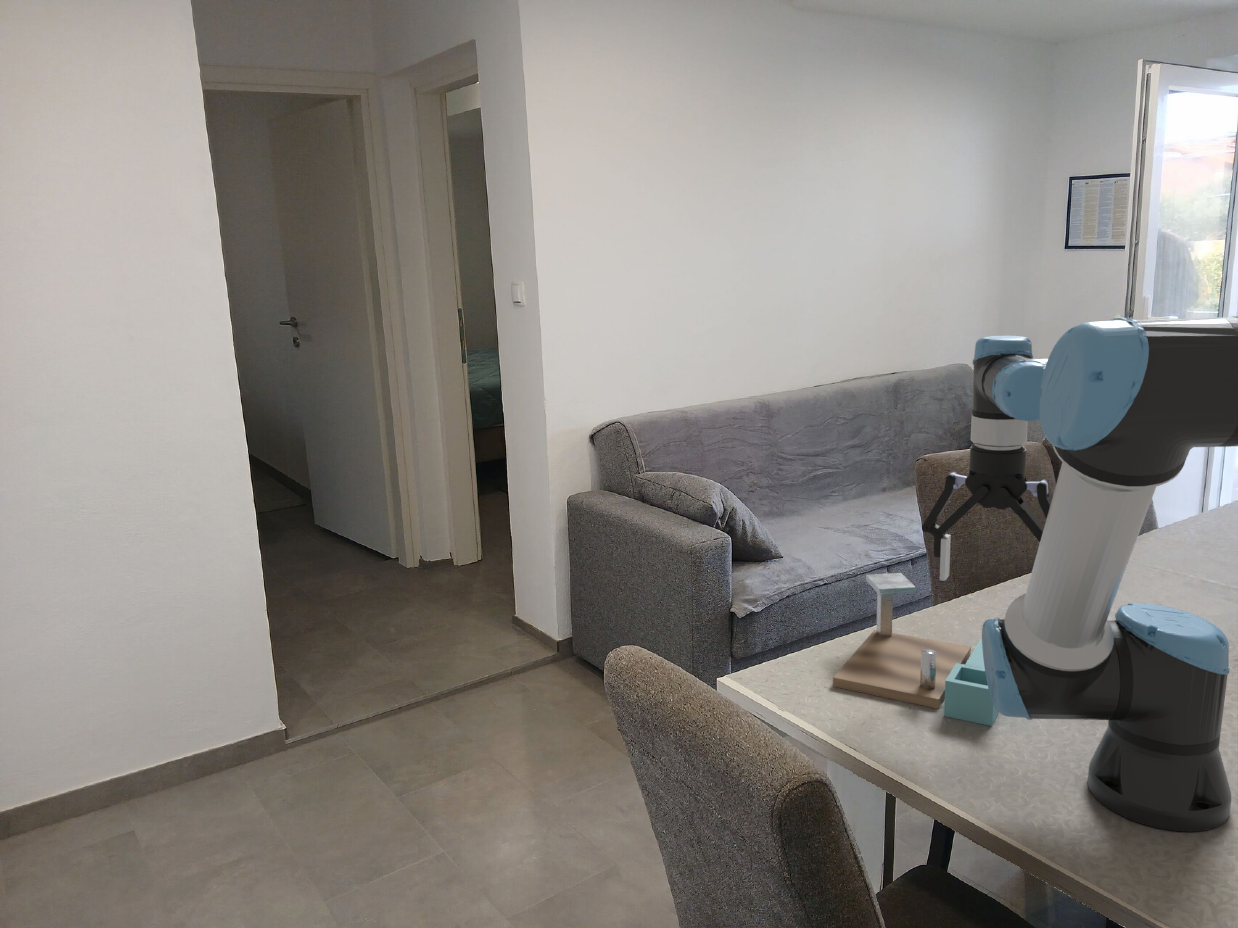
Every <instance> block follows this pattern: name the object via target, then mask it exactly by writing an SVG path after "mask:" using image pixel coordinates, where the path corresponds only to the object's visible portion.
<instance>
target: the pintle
mask: <svg viewBox="0 0 1238 928" xmlns="http://www.w3.org/2000/svg"><path fill="white" fill-rule="evenodd" d="M936 658H937V652H936V651H934V650H931V649H924V650H922V651H921V672H920V687H921V688H923V689H928V690H931V689H934V688H935V685H936Z"/></svg>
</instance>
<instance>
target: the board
mask: <svg viewBox="0 0 1238 928" xmlns="http://www.w3.org/2000/svg"><path fill="white" fill-rule="evenodd" d="M924 649H931V650H934V651H936V652H937V658H936V685H935V688H934V689H931V690H928V689H923V688H921V687H920V672H921V651H922V650H924ZM971 651H972V646H969V645H963V644H957V643H951V642H946V641H940V640H935V639H929V638H923V637H918V636H911V635H906V634H901V633H895V632H892V636H884V637H880V636H879V635H878V633H877V629H874V630H873V631H872V632H871V633H870V634H869V636H868V637H866V639H865V640H864V641H863V642H862V644H861V645H859V647H858V648H857V649H856V650H855V651H854V653H852V654H851V656H850V657H849V658H848V660H847V661H846V662H844V664H843V665H842V666H841V668H840V669H839V670H838V671H837V672H836V673H835V675H834V676H832V687H833V688H834V687H835V688H838V689H839V688H840V689H844V690H849V691H853V692H858V693H862V694H867V695H872V696H877V697H881V698H886V699H890V700H895V701H900V702H905V703H909V704H914V705H920V706H923V707H929V708H933V709H936V710H937V709H938V710H939V709H940V707H941V705H942V704H943V703H944V701H945V680H946V679H947V677H948V675H949V674H950V672H951V671H952V669H953V667H954V666H955V664H956V663H959V664H964V665H965V664H966V663H967V661H968V659H969V658H970V656H971V654H972V653H971Z"/></svg>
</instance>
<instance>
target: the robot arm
mask: <svg viewBox="0 0 1238 928" xmlns="http://www.w3.org/2000/svg"><path fill="white" fill-rule="evenodd" d="M972 365H973V374H972V375H973V378H972V379H973V380H972V402H971V403H972V404H971V405H972V406H971V407H972V408H971V419H970V420H971V422H970V423H971V424H970V438H969V439H970V441H971V442H972V443H973V444H972V445H971V446H970V447H969V467H968V468H969V471H968V475H967V476H966V475H961V474H959V473H958V472H956V471H951V472H950V473H949V474H947V476H946V478H945V483H944V488H943V490H942V492H941V494H940V495H939V497H938V498H937V500H936V502H935V504H934V506H933V508H932V509H931V511H930V512H929V514H928V516H927V517H926V519H925V521H924V523H923V524H922V526H921V530H922V532H923V533H929V534H930V535H932V536H933V539H934V540H933V556H934V558H940V561H939V581H942V582H943V581H944V582H945V581H947V579H948V578H949V576H950V568H951V567H950V566H951V565H950V564H951V562H950V561H951V539H952V538H951V537H952V535H951V534H949V533H947V532H948V531H949V530H950V529H951V528H952V527H953V526H954V525H955V524H956V523H957V522H958V521H959V520H960V519H961V518H963V516H964V515H965V514H966V513H968V512H969V511H970V510H971V509H972V508H973V507H974V506H975V505H976V504H978V505H979V506H981V507H982V508H984V509H985V508H986V509H991V508H992V509H993V508H995V509H998V510H1003V511H1005V510H1007V509H1011V510H1012V511H1013V512H1014V514H1015V515H1017V516H1018V517H1019V519H1020V520H1021V522H1023V523H1024V525H1025V526H1026V527H1027V528H1028V530H1029V531H1030V532H1031V533H1032V535H1033V536H1034V537H1035V539H1037V541H1038V542H1039V545H1038V549H1037V553H1036V555H1035V560H1034V563H1033V567H1032V570H1031V575H1030V578H1029V582H1028V584H1027V588H1026V592H1025V593H1023V594H1021V595H1019V596H1018V597H1016V598H1015V599H1014V600H1013V601H1012V602H1011V603H1010V604H1009V606H1008V607H1007V609H1006V612H1005V615H1004V618H1000V617H994V618H989V619H986V620H985V621H984V622H983V624H982V627H981V638H982V649H983V659H984V667H985V673H986V679H987V684H988V689H989V693H990V697H991V700H992V702H993V705H994V707H995V708H996V710H997V711H998V712H999V713H998V714H1000V715H1001V716H1005V717H1008V718H1009V717H1010V718H1022V719H1023V718H1025V719H1026V720H1027V721H1028V720H1029V721H1032V720H1033V719H1034V720H1081V721H1082V720H1084V721H1085V720H1086V721H1087V720H1088V721H1089V720H1091V721H1092V720H1093V721H1094V720H1095V721H1102V720H1103V721H1108V722H1107V723H1108V725H1107V728H1106V729H1105V732H1104V733H1103V736H1102V738H1101V740H1100V742H1099V744H1098V745H1097V747H1096V750H1095V751H1094V754H1093V755H1092V757H1091V760H1090V762H1089V764H1088V765H1089V766H1088V773H1087V774H1088V775H1087V786H1088V789H1089V791H1090V793H1091V794H1092V795H1093V797H1094V798H1095V799H1096V800H1097V801H1098V802H1099V803H1101V804H1102V805H1103V806H1104V807H1105V808H1107V809H1108V810H1111V811H1112V812H1114V813H1116V814H1117V815H1120V816H1121V817H1124V818H1125V819H1128V820H1130V821H1133V822H1136V823H1139V824H1142V825H1144V826H1145V825H1146V826H1148V827H1153V828H1157V829H1162V830H1166V831H1167V830H1168V831H1176V832H1202V831H1206V830H1207V831H1208V830H1211V829H1215V828H1217V827H1219V826H1221V825H1223V824H1224V823H1225V822H1226V821H1227V820H1228V819H1229V817H1230V813H1231V804H1232V791H1231V787H1230V783H1229V780H1228V777H1227V773H1226V770H1225V766H1224V762H1223V758H1222V755H1221V751H1220V741H1221V732H1222V723H1223V716H1224V707H1225V698H1226V690H1227V683H1228V675H1229V674H1230V669H1231V668H1230V667H1229V666H1230V662H1229V661H1230V658H1229V657H1230V656H1229V655H1230V654H1229V653H1230V652H1229V651H1230V646H1229V645H1230V644H1229V640H1228V638H1227V636H1226V634H1225V633H1224V632H1223V630H1221V629H1220V628H1219V627H1218V626H1217V625H1216V624H1214V623H1212V622H1210V621H1209V620H1207V619H1205V618H1203V617H1201V616H1199V615H1195V614H1194V613H1191V612H1188V611H1184V610H1181V609H1178V608H1174V607H1170V606H1165V605H1161V604H1155V603H1154V604H1153V603H1147V602H1130V603H1128V604H1123V605H1121V606H1120V607H1118V609H1117V611H1116V612H1115V614H1114V619H1115V620H1108V618H1109V615H1110V612H1111V610H1112V607H1113V604H1114V602H1115V598H1116V597H1117V594H1118V592H1119V591H1118V590H1119V588H1120V585H1121V583H1122V580H1123V577H1124V575H1125V571H1126V569H1127V567H1128V565H1129V561H1130V558H1131V556H1132V553H1133V550H1134V548H1135V545H1136V542H1137V540H1138V537H1139V534H1140V532H1141V529H1142V527H1143V524H1144V522H1145V518H1146V515H1147V513H1148V510H1149V507H1150V505H1151V502H1152V500H1153V496H1154V494H1155V491H1156V488H1157V487H1159V486H1162V485H1165V484H1167V483H1169V482H1170V481H1173V480H1174V479H1175V478H1176V477H1178V475H1179V474H1180V473H1181V471H1182V470H1183V468H1184V466H1185V463H1186V461H1187V458H1188V456H1189V454H1190V451H1191V450H1192V449H1193V448H1217V447H1218V448H1222V447H1223V448H1224V447H1225V448H1229V447H1238V315H1237V316H1226V317H1225V316H1223V317H1222V316H1221V317H1218V316H1217V317H1194V318H1193V317H1191V318H1166V319H1165V318H1162V319H1156V318H1155V319H1133V318H1131V317H1116V318H1113V319H1108V320H1102V321H1101V320H1099V321H1089V322H1088V321H1087V322H1086V321H1085V322H1083V323H1079V324H1078V325H1075V326H1072V327H1071V328H1070V329H1068V330H1067V331H1066V332H1064V333H1063V334H1062V335H1061V336H1060V337H1059V339H1058V340H1057V342H1056V343H1055V344H1054V345H1053V348H1052V350H1051V352H1050V354H1049V356H1048V358H1034V355H1033V345H1032V341H1031V339H1030V338H1028V337H1025V336H1021V335H1020V336H1019V335H989V336H983V337H979V338H978V339H977V340H976V342H975V347H974V356H973V359H972ZM1037 421H1040V425H1041V430H1042V432H1043V435H1044V437H1045V438H1046V440H1047V442H1049V443H1050V444H1051V445H1052V448H1053V450H1054V452H1055V454H1056V456H1057V457H1058V458H1059V460H1060V461H1061V466H1060V469H1059V473H1058V477H1057V479H1056V483H1055V487H1054V490H1053V495H1052V498H1051V495H1050V483H1049V481H1048V480H1047V479H1041V480H1039V481H1028V480H1027V478H1026V462H1027V461H1026V460H1027V448H1026V447H1025V446H1024V445H1025V444H1026V443H1027V442H1028V425H1029V422H1037ZM962 485H965V487H966V488H967V489H968V491H969V492H970V494H971V496H969V498H968V499H966V501H965V502H963V503H962V504H961V505H960V506H959V507H958V508H957V509H956V510H955V511H954V512H953V513H952V514H951V515H950V516H948V518H946V520H944V522H942V523H941V524H940V525H938V524H936V523H937V522H938V520H939V518H940V517H941V515H942V513H943V511H944V509H945V508H946V506H947V504H948V503H949V501H950V500H951V498H952V496H953V495H954V493H955V491H956V490H959V489H960V488H961V487H962ZM1027 491H1030V492H1031V494H1032V497H1034V498H1037V501H1038V505H1039V506H1040V509H1041V512H1042V513H1043V515H1044V517H1045V519H1046V521H1045V523H1044V524H1043V523H1042V522H1041V521H1040V520H1039V518H1038V517H1037V516H1036V514H1035V513H1034V512H1033V511H1032V509H1031V508H1030V506H1029V505H1028V503H1027V501H1025V499H1024V498H1023V495H1024V494H1025V493H1026V492H1027Z"/></svg>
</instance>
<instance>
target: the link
mask: <svg viewBox="0 0 1238 928" xmlns="http://www.w3.org/2000/svg"><path fill="white" fill-rule="evenodd" d="M943 703H944V704H943V705H944V706H943V707H944V708H943V716H944V717H948V718H952V719H958V720H961V721H965V722H972V723H976V724H981V725H984V726H985V725H986V726H989V727H993V725H994V724H995V721H996V719H997V716H998V714H1000V713H999V712H998V711H997V710H996V708H995V707H994V705H993V702H992V700H991V697H990V693H989V689H988V684H987V679H986V673H985V667H984V659H983V649H982V637H980V639H979V641H978V643H977V645H976V646H975V648H974V649H973V651H972V653H971V655H970V657H969V659H968V660H967V662H966V664H965V665H964V664H959V663H956V664H955V666H954V667H953V669H952V671H951V672H950V674H949V675H948V677H947V679H946V680H945V699H944V701H943Z"/></svg>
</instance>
